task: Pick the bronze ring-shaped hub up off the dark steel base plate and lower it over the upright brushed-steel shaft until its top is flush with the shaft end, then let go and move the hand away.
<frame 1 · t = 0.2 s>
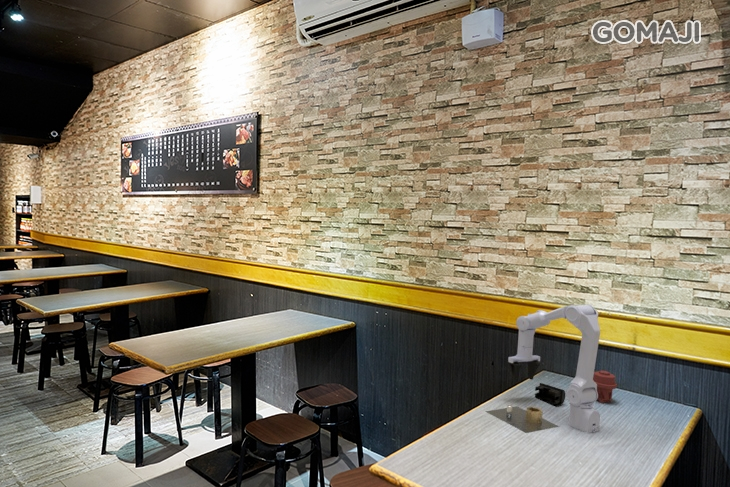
hand: (523, 379, 194), 10 cm above the table, tool pointing down, fingers open, 7 cm apart
shaft stand: (520, 422, 174), on the table
mechanical component: (602, 401, 204), on the table
end cap: (549, 403, 198), on the table
bronze hub: (533, 420, 173), point 1 cm above the table, touching shaft stand
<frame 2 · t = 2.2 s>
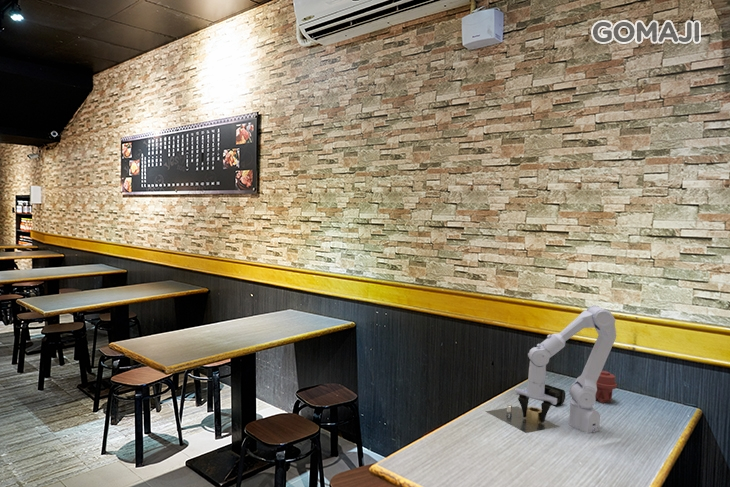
hand: (533, 419, 173), 2 cm above the table, tool pointing down, fingers closed on bronze hub, 6 cm apart
bronze hub: (533, 420, 173), point 1 cm above the table, touching gripper, shaft stand
everything else where it was.
when the fingers open (3 cm above the table, at t = 6.1 s): bronze hub stays where it is, resting on shaft stand.
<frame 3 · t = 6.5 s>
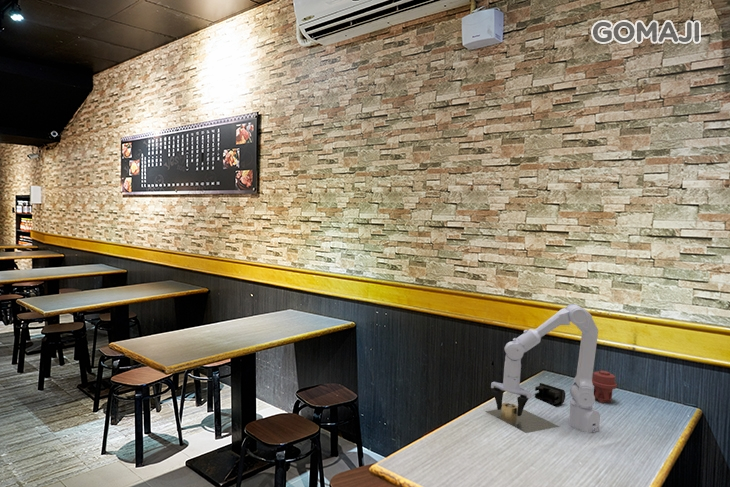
hand: (509, 412, 175), 3 cm above the table, tool pointing down, fingers open, 7 cm apart
bronze hub: (509, 416, 176), point 1 cm above the table, touching shaft stand
everything else where it was.
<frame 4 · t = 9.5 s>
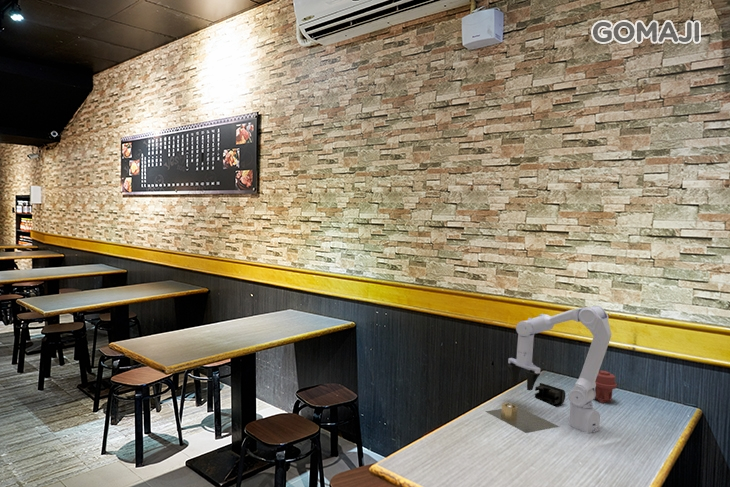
hand: (522, 386, 186), 9 cm above the table, tool pointing down, fingers open, 7 cm apart
nothing on the table moved.
at the end: bronze hub 0.1 cm from the target spot, point 1.5 cm above the table; bronze hub tilted 0°; the gripper is holding nothing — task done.
